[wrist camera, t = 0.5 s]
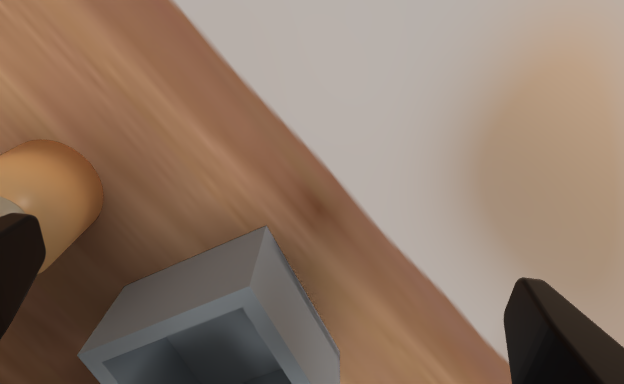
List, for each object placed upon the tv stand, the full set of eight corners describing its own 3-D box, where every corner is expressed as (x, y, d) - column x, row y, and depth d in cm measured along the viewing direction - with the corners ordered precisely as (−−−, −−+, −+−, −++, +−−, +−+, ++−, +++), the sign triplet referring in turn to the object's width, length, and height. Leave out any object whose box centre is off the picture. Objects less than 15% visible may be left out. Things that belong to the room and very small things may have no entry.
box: (207, 397, 30) (181, 480, 25) (124, 286, 27) (76, 355, 22) (339, 350, 28) (340, 430, 23) (266, 225, 25) (249, 285, 20)
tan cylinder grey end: (45, 246, 27) (-9, 296, 22) (-19, 165, 25) (-91, 202, 21) (123, 210, 25) (81, 255, 21) (62, 122, 24) (3, 152, 20)
